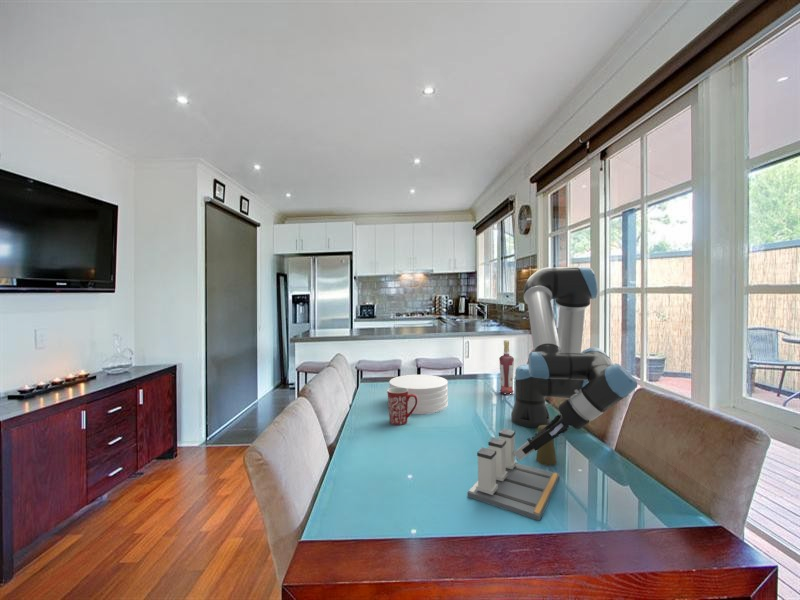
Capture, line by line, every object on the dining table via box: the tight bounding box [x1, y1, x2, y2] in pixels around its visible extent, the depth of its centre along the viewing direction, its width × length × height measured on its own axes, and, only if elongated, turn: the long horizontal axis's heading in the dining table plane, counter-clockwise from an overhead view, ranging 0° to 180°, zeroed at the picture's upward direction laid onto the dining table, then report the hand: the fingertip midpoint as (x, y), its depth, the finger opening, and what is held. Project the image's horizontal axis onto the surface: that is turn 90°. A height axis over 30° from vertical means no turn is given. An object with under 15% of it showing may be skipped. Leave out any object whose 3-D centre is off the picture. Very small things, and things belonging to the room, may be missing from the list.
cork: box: [535, 425, 557, 467], centre depth 112 cm, size 6×6×11 cm
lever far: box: [476, 447, 498, 495], centre depth 93 cm, size 4×4×10 cm
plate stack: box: [388, 374, 449, 415], centre depth 172 cm, size 28×28×12 cm
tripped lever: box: [498, 428, 518, 469], centre depth 107 cm, size 4×4×10 cm
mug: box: [386, 387, 417, 426], centre depth 147 cm, size 13×9×14 cm
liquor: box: [498, 340, 515, 395], centre depth 188 cm, size 7×7×28 cm
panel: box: [467, 462, 560, 522], centre depth 97 cm, size 18×23×1 cm
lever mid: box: [487, 436, 508, 481], centre depth 100 cm, size 4×4×10 cm
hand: (517, 456), depth 105 cm, fingers closed
